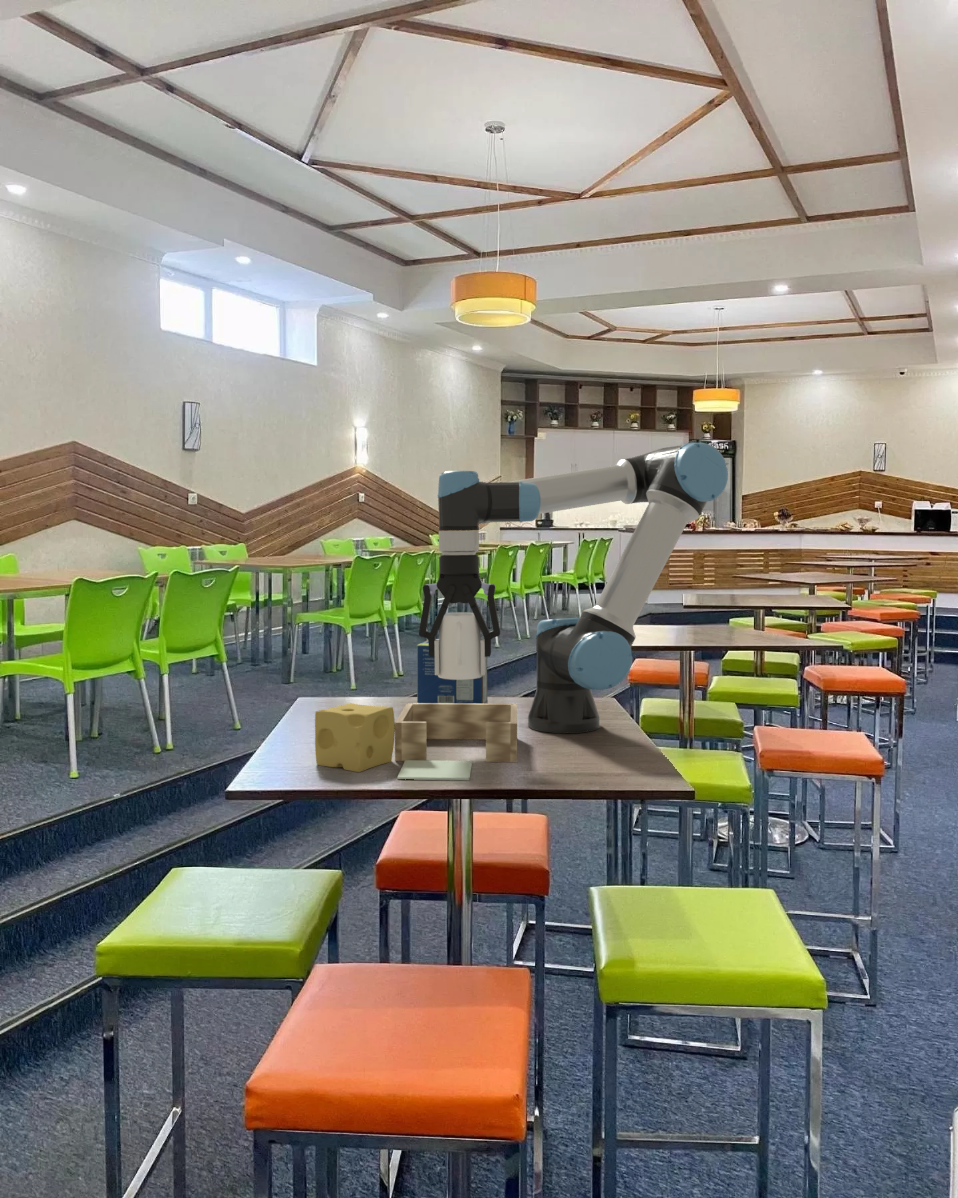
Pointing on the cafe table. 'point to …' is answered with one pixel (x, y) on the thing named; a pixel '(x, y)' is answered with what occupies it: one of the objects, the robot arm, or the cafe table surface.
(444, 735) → the frame
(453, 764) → the mat
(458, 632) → the mug
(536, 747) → the cafe table surface
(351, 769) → the cheese
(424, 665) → the protein box
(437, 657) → the robot arm
